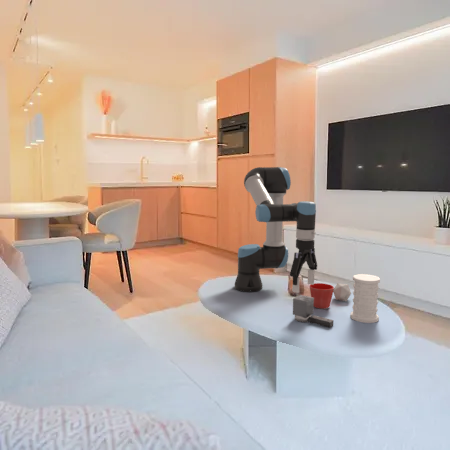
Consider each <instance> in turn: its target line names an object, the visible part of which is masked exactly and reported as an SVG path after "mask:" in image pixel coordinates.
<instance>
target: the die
mask: <svg viewBox="0 0 450 450" xmlns="http://www.w3.org/2000/svg"><path fill="white" fill-rule="evenodd" d="M333 295H334V298H335V301H341V302H348V300H349V298H350V296H351V295H352V292H351V288H350V286H349V284H347V283H340V282H338V283H336V284H335V286H334V290H333Z"/></svg>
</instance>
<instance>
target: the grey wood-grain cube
mask: <svg viewBox="0 0 450 450" xmlns="http://www.w3.org/2000/svg"><path fill="white" fill-rule="evenodd" d="M314 308H315V307H314V298H313V297H311V296H308V295H307V296H306V295H304V294H303V295H302V294H299V295H297V296H295V297H294V298H292V315H294V316H295V315H297V316H301V317H305V318H307V317H309V316H310V315H311V316H313V315H314Z"/></svg>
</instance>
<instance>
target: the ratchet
mask: <svg viewBox="0 0 450 450" xmlns="http://www.w3.org/2000/svg"><path fill="white" fill-rule="evenodd" d="M294 321H296V322H299V323H310V324H314V325H317V326H322V327H324V328H328V329H331V328H332V327H334V320H333V319H331V318H328V317H323V316H319V315H314V314H312V315H310V316H309V317H307V318H305V317H301V316H297V315H294Z"/></svg>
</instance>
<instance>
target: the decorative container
mask: <svg viewBox="0 0 450 450" xmlns="http://www.w3.org/2000/svg"><path fill="white" fill-rule="evenodd" d="M352 281H354V283H353V291H352V294H353V298H352V311H351V312H350V313H349V314H350V315H349V316H350V319H352V320H353V321H356V322H358V323H363V324H374V323H377V322H379V320H380V316H379V315H378V314H377V313H378V303H379V301H378V298H379V292H378V291H379V283H381V278H380V277H379V276H378V275H373V274H367V273H359V274H354V275H353V276H352Z"/></svg>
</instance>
